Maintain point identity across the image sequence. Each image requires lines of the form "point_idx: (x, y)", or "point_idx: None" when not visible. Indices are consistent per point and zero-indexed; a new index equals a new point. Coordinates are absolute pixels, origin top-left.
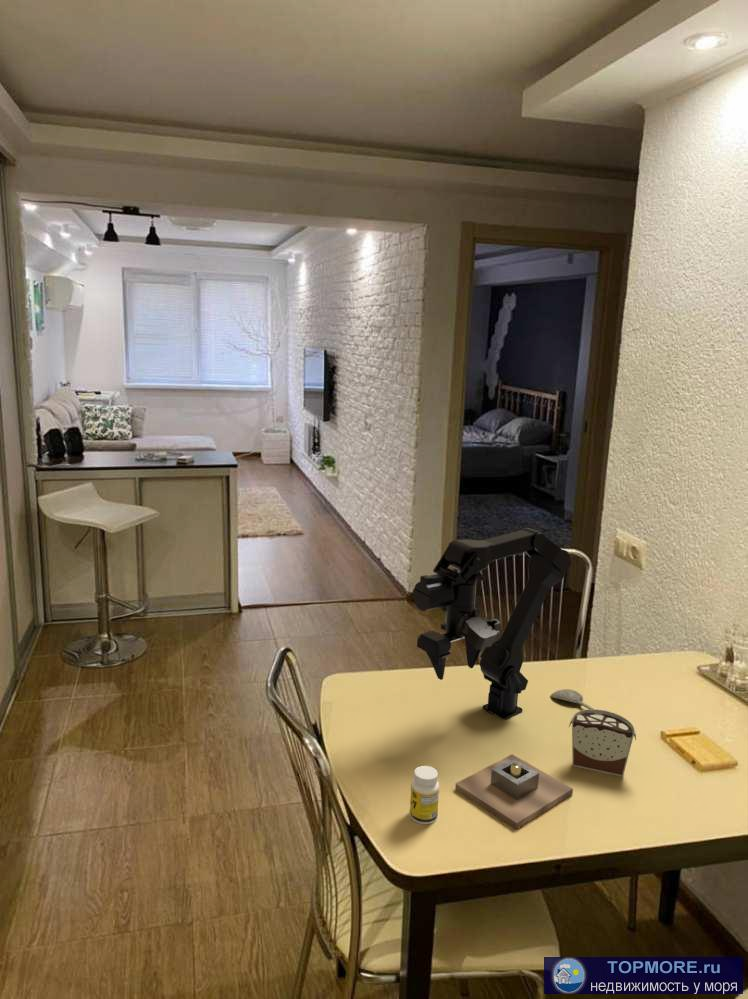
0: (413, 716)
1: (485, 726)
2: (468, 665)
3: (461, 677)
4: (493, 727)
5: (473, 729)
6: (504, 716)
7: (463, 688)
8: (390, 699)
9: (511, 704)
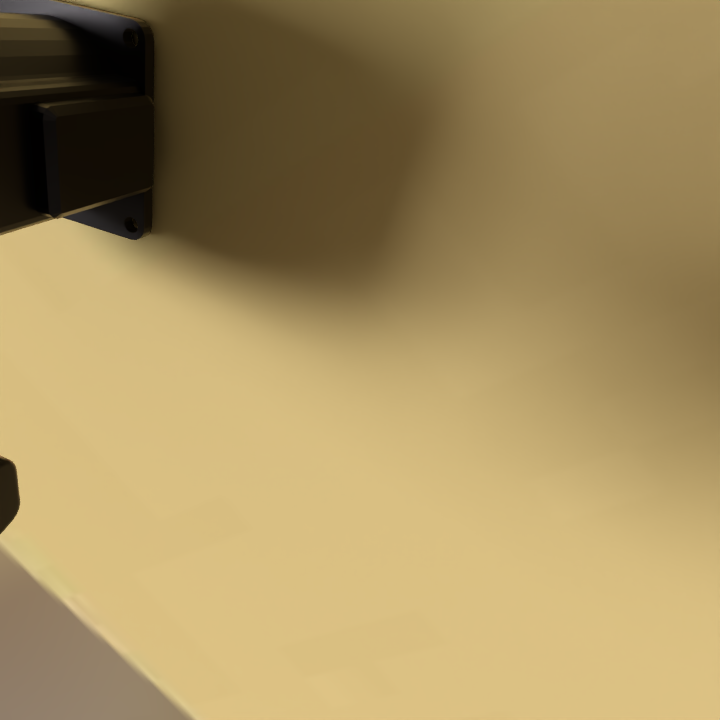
0: (531, 546)
1: (320, 92)
2: (3, 524)
3: None
4: (291, 32)
5: (419, 145)
6: (127, 40)
7: (73, 419)
8: (440, 692)
9: (8, 20)
